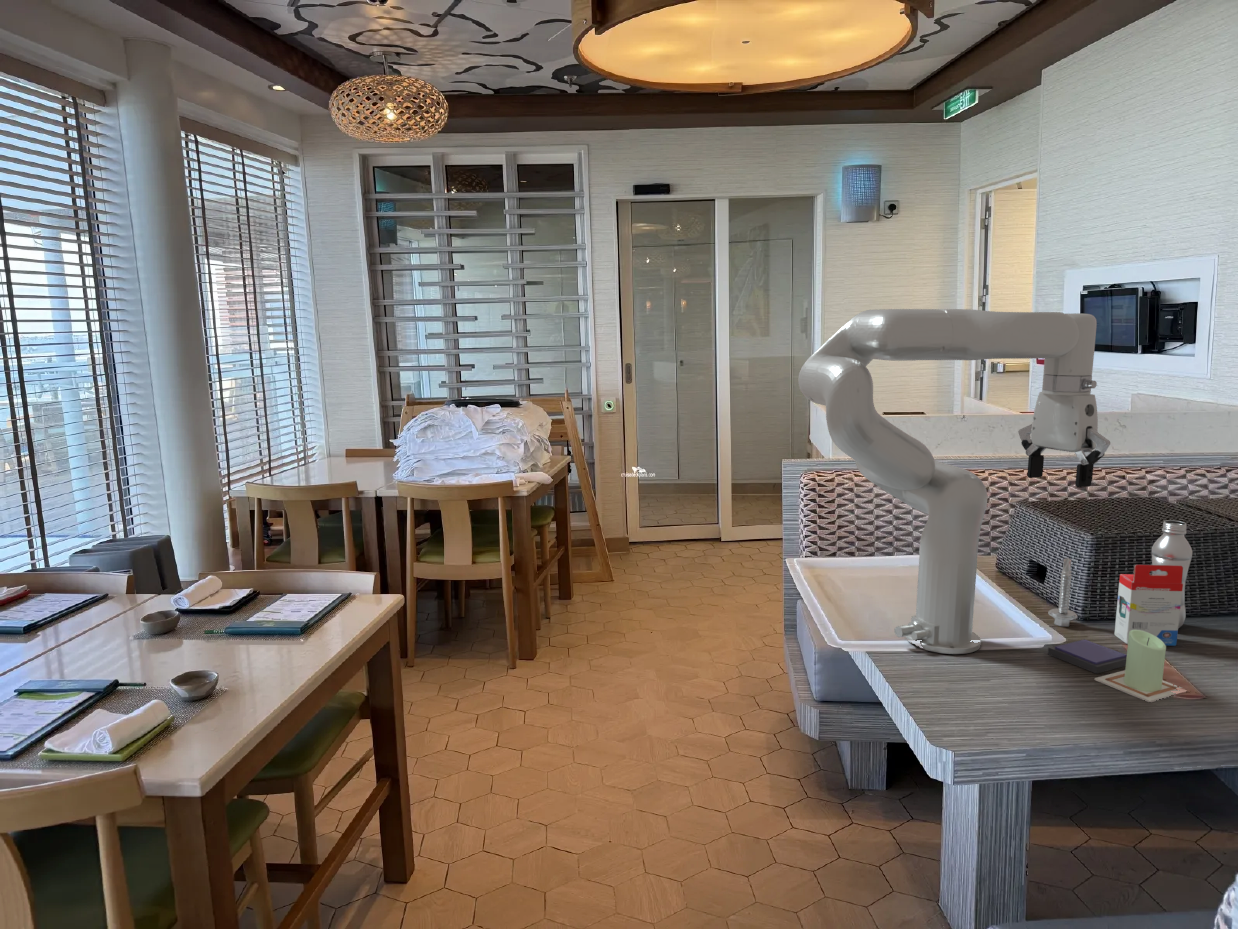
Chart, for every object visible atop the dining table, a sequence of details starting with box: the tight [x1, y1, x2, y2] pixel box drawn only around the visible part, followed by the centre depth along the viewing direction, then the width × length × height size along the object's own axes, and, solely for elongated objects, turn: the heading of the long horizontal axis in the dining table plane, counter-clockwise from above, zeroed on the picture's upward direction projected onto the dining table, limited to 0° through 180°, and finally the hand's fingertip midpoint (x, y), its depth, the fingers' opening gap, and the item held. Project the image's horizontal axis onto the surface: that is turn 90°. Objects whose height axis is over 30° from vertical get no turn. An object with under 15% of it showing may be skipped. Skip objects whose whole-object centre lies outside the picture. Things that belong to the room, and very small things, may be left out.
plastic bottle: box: [1151, 519, 1193, 629], centre depth 157 cm, size 6×7×20 cm
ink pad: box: [1047, 638, 1127, 675], centre depth 143 cm, size 9×9×2 cm
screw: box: [1047, 557, 1078, 627], centre depth 159 cm, size 13×5×5 cm
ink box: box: [1114, 564, 1183, 647], centre depth 150 cm, size 8×5×15 cm, turn 84°
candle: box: [1124, 630, 1167, 691], centre depth 132 cm, size 5×5×8 cm
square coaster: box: [1094, 669, 1183, 703], centre depth 133 cm, size 9×9×1 cm
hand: (1058, 481), depth 150 cm, fingers open, 9 cm apart
